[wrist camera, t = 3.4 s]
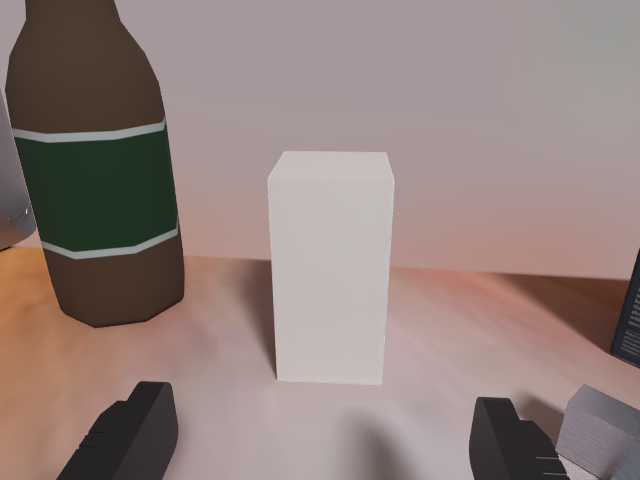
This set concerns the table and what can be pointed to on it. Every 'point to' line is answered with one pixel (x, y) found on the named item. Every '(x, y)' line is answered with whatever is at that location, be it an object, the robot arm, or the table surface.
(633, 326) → the box
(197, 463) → the table surface
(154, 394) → the robot arm
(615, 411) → the rail
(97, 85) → the beer bottle
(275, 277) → the carton
